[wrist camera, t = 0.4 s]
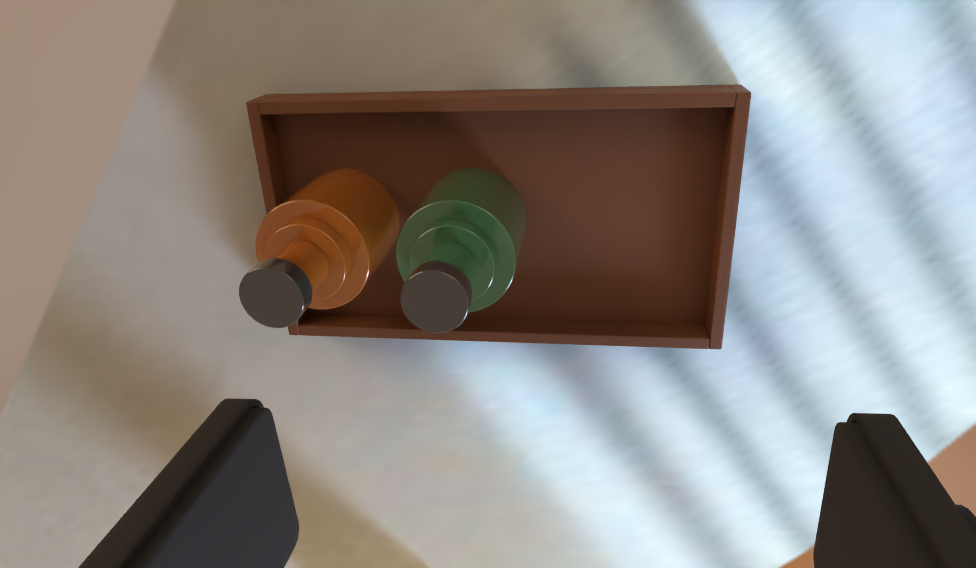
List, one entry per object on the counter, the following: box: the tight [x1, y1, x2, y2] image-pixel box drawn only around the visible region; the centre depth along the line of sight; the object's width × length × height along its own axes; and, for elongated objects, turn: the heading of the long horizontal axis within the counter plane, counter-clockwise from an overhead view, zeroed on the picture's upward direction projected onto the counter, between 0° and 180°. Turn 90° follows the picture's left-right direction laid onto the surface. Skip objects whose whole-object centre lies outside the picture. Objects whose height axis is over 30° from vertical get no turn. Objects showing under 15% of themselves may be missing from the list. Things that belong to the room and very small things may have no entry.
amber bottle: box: [239, 168, 400, 328], centre depth 30 cm, size 5×5×9 cm
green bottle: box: [396, 168, 527, 333], centre depth 29 cm, size 5×5×9 cm
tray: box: [246, 85, 751, 349], centre depth 33 cm, size 22×12×2 cm, turn 92°
